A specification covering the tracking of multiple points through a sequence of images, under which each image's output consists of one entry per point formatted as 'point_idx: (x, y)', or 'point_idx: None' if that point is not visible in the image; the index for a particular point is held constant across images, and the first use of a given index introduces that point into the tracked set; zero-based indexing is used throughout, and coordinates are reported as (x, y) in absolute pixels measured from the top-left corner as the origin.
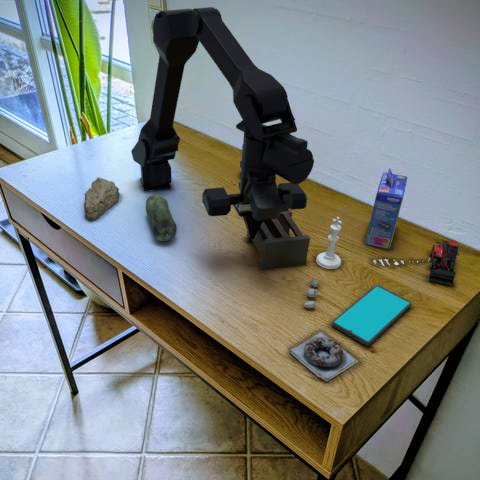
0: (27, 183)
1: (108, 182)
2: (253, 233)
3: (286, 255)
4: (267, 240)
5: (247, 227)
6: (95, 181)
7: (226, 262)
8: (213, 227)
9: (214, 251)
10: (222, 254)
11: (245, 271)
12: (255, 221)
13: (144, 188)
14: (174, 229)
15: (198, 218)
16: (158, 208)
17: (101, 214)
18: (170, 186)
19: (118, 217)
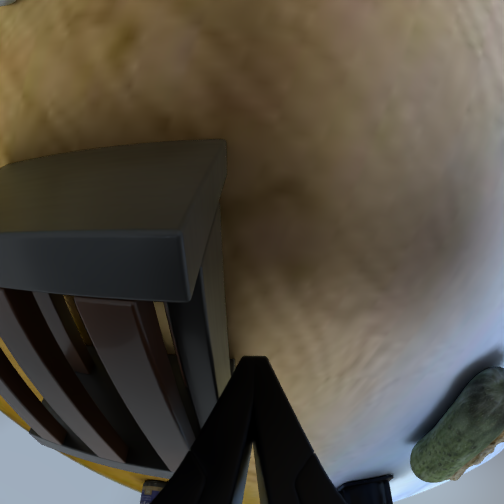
0: (498, 448)
1: (453, 477)
2: (251, 394)
3: (47, 173)
4: (142, 277)
5: (304, 445)
6: (462, 473)
7: (397, 245)
8: (326, 420)
9: (400, 324)
10: (382, 303)
11: (338, 143)
12: (236, 494)
13: (391, 478)
14: (487, 402)
15: (345, 441)
16: (476, 454)
17: None
18: (344, 487)
19: None
